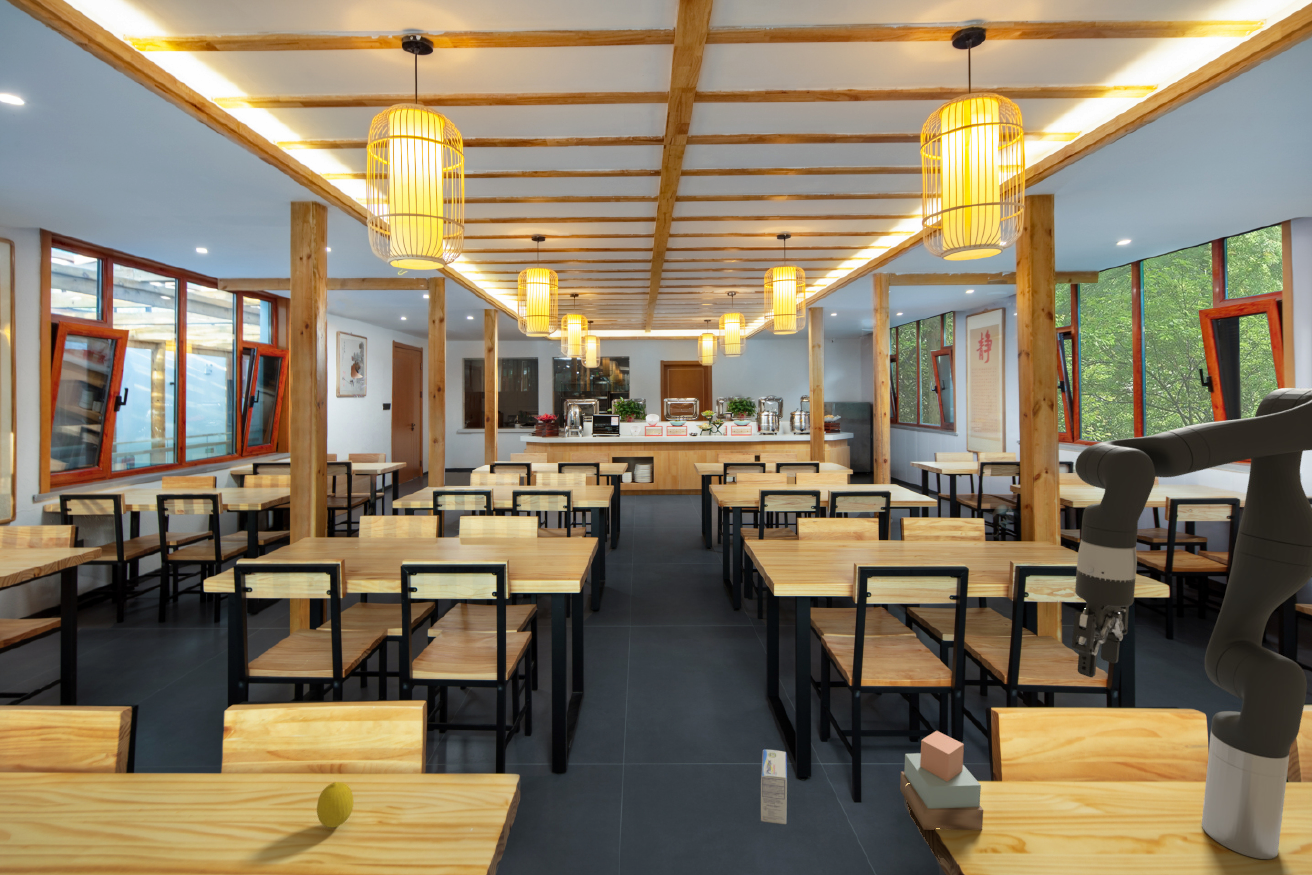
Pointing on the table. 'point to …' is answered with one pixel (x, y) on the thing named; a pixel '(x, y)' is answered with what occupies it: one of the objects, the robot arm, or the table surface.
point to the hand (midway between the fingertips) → (1098, 667)
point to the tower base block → (941, 812)
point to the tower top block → (942, 786)
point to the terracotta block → (942, 755)
